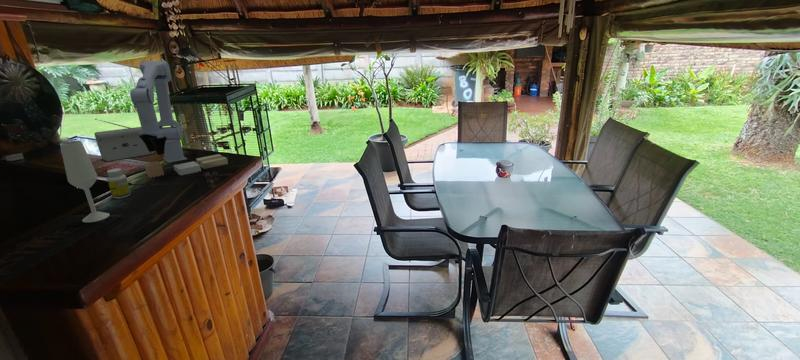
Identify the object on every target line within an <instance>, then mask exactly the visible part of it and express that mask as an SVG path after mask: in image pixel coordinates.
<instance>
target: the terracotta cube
mask: <svg viewBox="0 0 800 360" xmlns="http://www.w3.org/2000/svg"><path fill="white" fill-rule="evenodd" d="M143 164H144V168H145V172H146V175H147V177H148V178H149V179H153V178H156V176H157V177H161V175H162V176H165V173H164V168H163V165H162V163H161V162H160V161H157V160H156V161H153V162H147V163H143ZM152 177H153V178H152Z"/></svg>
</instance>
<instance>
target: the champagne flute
mask: <svg viewBox="0 0 800 360" xmlns="http://www.w3.org/2000/svg"><path fill="white" fill-rule="evenodd" d="M59 145H60V152H61V156H62V160H63V165H64V170H65V174H66V179H67V182H68V183H69V184H70V185H72V186H74V187H76V188H77V189H81V190H83V191H84V194H85V196H86V199H87V202H88V205H89V208H90V211H91V212H90V213H89V214H87V216H85V217H84V218H82V220H81V222H83V223H95V222H99V221H102V220H105V219H107V218H108V217H110V213H109V212H103V211H97V209H96V206H95V202H94V200H93V197H92V194H91V190H90V188H92V187H93V185H94V184H95V183H96V181H97V179H98V174H97V172H96V170H95V167H94V165H93V163H92V161H91V159H90V156H89V155H88V152H87V151H86V148H85V146H84V143H83V142H82V140H70V141H63V142H61V143H59Z"/></svg>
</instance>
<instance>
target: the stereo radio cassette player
mask: <svg viewBox="0 0 800 360" xmlns="http://www.w3.org/2000/svg"><path fill="white" fill-rule="evenodd" d="M94 120H96V121H98V118H94ZM99 121H101V122H104V123H107V124H111V125H114V126H118V127H123V128H120V129H112V130H103V131H102V130H101V131H95V132H94V137H95V141H96V144H97V148H98V150H99V154H100V157H101V158H102V160H104V161H105V162H108V163H109V162H111V161H119V160H124V159H129V158H135V157H136V158H137V157H141V156H142V157H143V156H149V155H154V154H155V152H156V150H155V151H152V152H149V150H148V149H147V147H146V145H145V143H144V142H143V140H142V139H141V138H140V137H139V135H143V134H139V132H141V129H142V128H141V126H136V127H130V126H129V127H128V126H125V125H121V124H117V123H113V122H109V121H106V120H101V119H99Z"/></svg>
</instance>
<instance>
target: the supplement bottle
mask: <svg viewBox="0 0 800 360" xmlns="http://www.w3.org/2000/svg"><path fill="white" fill-rule="evenodd" d="M107 176H108V177H107V178H106V182H107V185H108V186H109V190H110V193H111V196H112V198H114V199H116V200H117V199H124V198H127V197H129V196H131V195H132V191H131V189H130V185H129V181H128V178H127V176H126V175H125V174H124V173H123V170H122V168H119V167H118V168H111V169H108V170H107Z"/></svg>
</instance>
